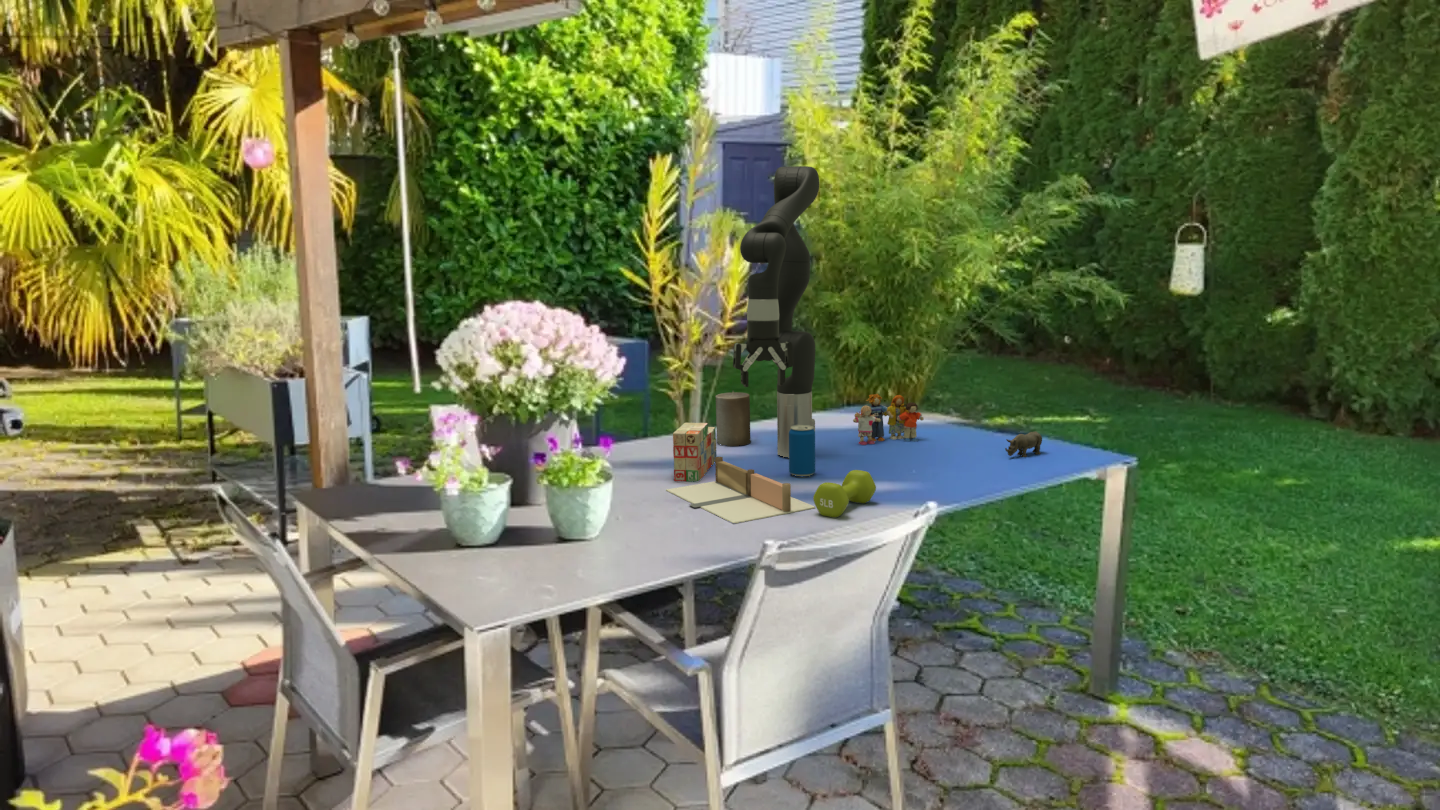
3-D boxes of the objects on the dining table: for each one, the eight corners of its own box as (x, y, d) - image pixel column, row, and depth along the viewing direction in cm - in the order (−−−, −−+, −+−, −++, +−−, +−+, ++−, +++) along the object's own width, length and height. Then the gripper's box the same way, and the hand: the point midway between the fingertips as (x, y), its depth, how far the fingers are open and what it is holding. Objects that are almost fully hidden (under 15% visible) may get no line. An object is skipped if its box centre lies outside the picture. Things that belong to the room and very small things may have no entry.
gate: (757, 495, 235) (756, 470, 234) (792, 510, 223) (792, 484, 222) (750, 496, 234) (750, 471, 233) (785, 511, 222) (785, 485, 221)
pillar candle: (757, 441, 292) (756, 389, 289) (739, 447, 284) (738, 394, 281) (728, 438, 297) (726, 386, 295) (709, 444, 289) (708, 392, 286)
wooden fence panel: (720, 480, 249) (720, 456, 248) (756, 495, 235) (756, 470, 234) (714, 481, 248) (713, 457, 247) (749, 496, 235) (749, 471, 233)
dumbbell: (842, 521, 217) (842, 488, 216) (809, 515, 222) (809, 482, 220) (878, 502, 230) (879, 471, 228) (847, 497, 234) (847, 466, 233)
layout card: (742, 477, 252) (742, 476, 252) (815, 508, 226) (815, 506, 226) (660, 491, 241) (660, 490, 241) (726, 525, 215) (726, 523, 215)
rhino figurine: (998, 458, 268) (998, 435, 267) (1033, 450, 275) (1034, 428, 274) (1010, 461, 265) (1011, 438, 263) (1046, 453, 272) (1047, 431, 271)
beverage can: (818, 472, 256) (818, 425, 254) (809, 479, 250) (809, 430, 248) (794, 470, 259) (794, 423, 257) (785, 476, 253) (784, 428, 251)
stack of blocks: (693, 460, 271) (692, 415, 269) (717, 461, 270) (716, 415, 268) (673, 481, 251) (672, 432, 248) (698, 482, 249) (697, 433, 247)
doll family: (854, 446, 284) (854, 399, 281) (842, 438, 293) (842, 393, 290) (925, 440, 289) (926, 394, 286) (911, 433, 298) (912, 389, 295)
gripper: (787, 316, 248) (786, 382, 251) (730, 317, 245) (730, 385, 248) (796, 318, 241) (796, 387, 244) (738, 320, 238) (738, 389, 241)
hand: (762, 385), depth 246 cm, fingers open, 8 cm apart
